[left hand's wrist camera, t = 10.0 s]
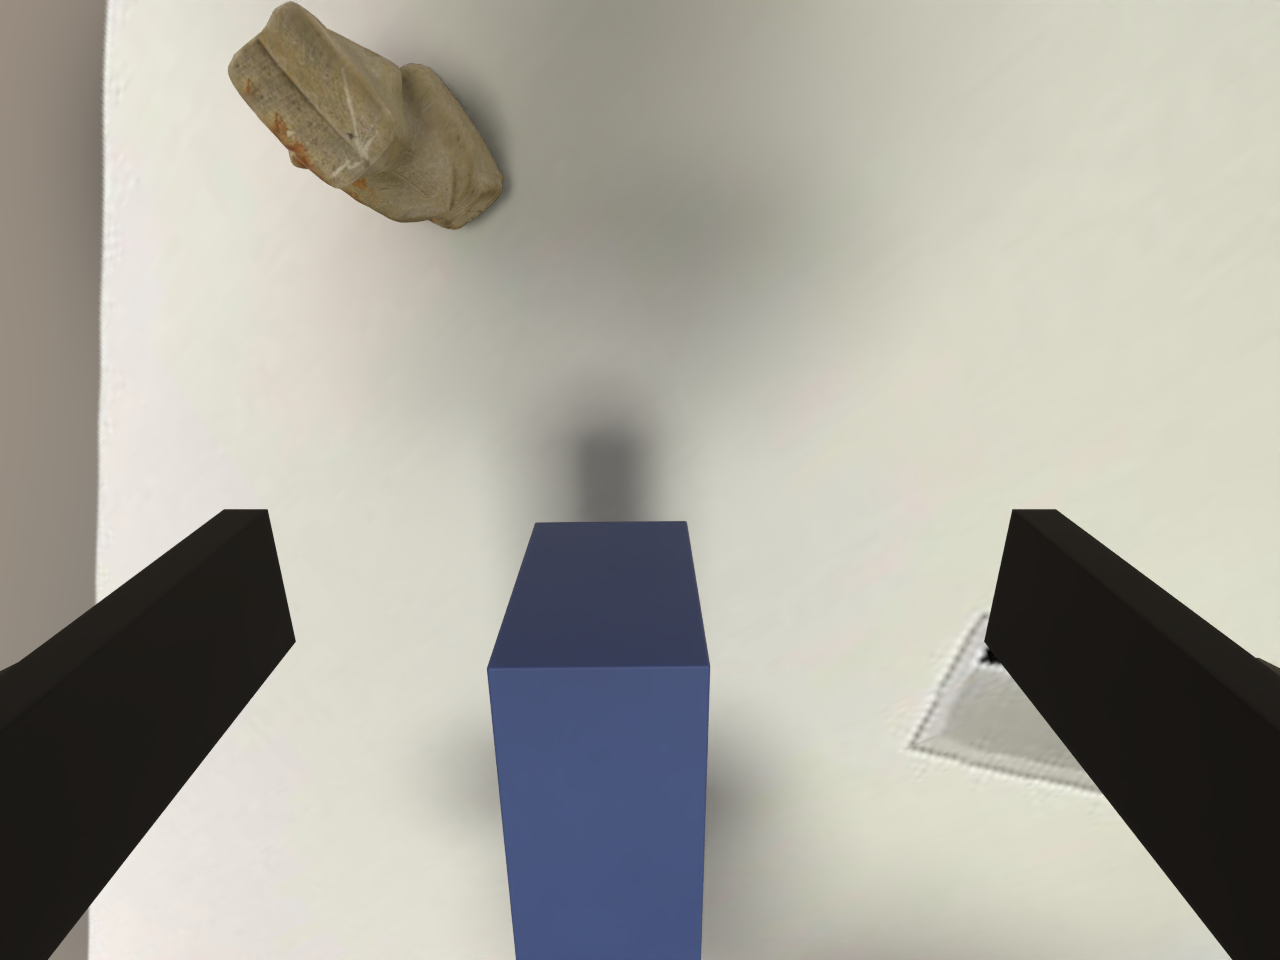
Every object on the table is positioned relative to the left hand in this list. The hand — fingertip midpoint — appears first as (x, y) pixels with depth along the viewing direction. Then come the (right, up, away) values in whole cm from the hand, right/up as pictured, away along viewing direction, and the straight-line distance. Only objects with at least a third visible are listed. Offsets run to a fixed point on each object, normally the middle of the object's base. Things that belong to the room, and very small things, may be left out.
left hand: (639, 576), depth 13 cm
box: (-1, -13, +21) cm, 25 cm away
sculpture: (-10, +19, +24) cm, 32 cm away
